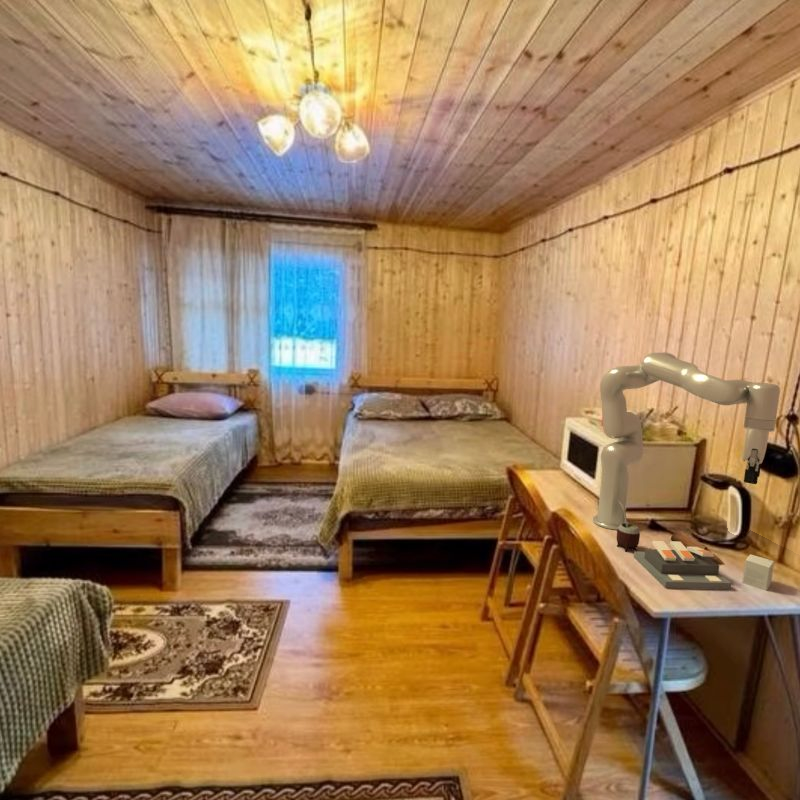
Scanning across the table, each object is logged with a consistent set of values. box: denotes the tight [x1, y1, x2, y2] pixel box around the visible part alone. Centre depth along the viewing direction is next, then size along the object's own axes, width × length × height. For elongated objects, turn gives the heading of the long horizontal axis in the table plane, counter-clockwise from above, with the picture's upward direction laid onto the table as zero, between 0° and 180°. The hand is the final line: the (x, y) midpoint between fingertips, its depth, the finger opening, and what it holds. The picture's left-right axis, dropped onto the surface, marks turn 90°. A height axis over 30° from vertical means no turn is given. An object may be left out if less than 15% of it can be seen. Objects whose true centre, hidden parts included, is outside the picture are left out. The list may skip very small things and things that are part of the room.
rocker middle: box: [669, 540, 695, 561], centre depth 151 cm, size 8×3×2 cm, turn 1°
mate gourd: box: [616, 501, 641, 553], centre depth 167 cm, size 8×8×15 cm
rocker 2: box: [687, 547, 714, 557], centre depth 151 cm, size 8×3×2 cm, turn 0°
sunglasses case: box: [670, 532, 725, 566], centre depth 167 cm, size 18×7×7 cm
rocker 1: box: [652, 540, 676, 561], centre depth 151 cm, size 8×3×2 cm, turn 1°
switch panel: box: [633, 548, 732, 590], centre depth 152 cm, size 19×19×5 cm
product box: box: [742, 554, 775, 592], centre depth 147 cm, size 6×6×7 cm
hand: (751, 479), depth 151 cm, fingers open, 9 cm apart
